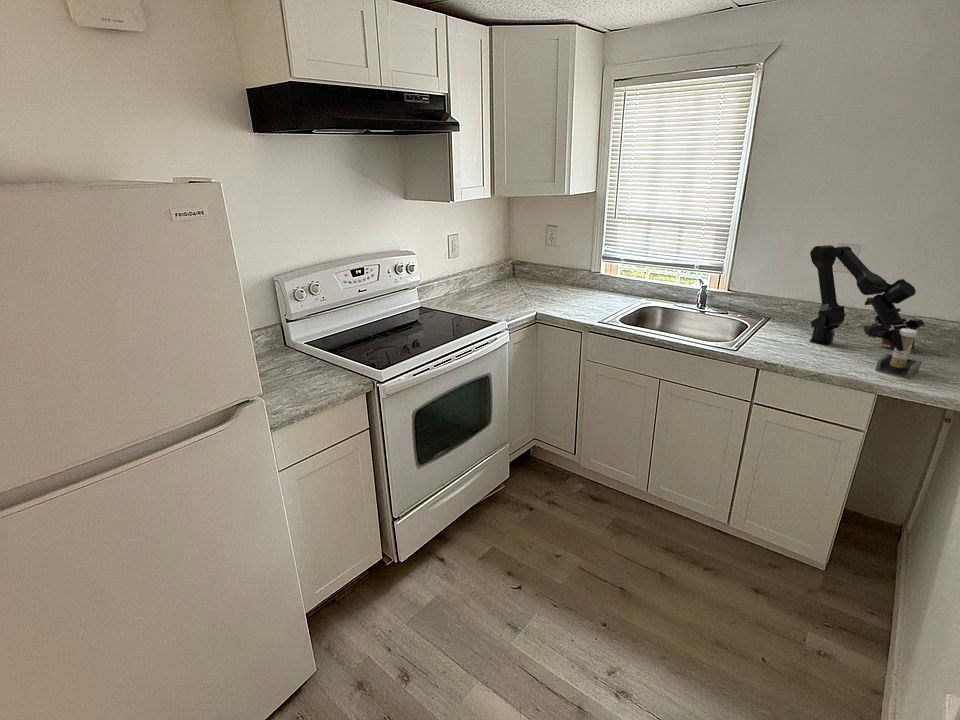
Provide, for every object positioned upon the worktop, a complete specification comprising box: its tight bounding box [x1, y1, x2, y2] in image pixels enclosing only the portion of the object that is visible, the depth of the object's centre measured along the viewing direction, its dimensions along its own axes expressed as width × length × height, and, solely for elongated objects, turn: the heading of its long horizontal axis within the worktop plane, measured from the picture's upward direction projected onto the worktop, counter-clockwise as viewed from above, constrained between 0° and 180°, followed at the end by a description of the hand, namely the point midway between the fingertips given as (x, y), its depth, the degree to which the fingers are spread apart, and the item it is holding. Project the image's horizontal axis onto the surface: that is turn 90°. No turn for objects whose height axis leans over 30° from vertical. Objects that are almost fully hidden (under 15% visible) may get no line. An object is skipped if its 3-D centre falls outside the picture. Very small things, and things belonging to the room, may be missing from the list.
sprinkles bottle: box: [890, 328, 918, 368], centre depth 179 cm, size 5×5×13 cm
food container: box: [880, 320, 909, 351], centre depth 200 cm, size 12×6×10 cm, turn 106°
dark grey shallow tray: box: [874, 353, 923, 380], centre depth 181 cm, size 10×10×4 cm
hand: (906, 349), depth 178 cm, fingers closed on sprinkles bottle, 4 cm apart
